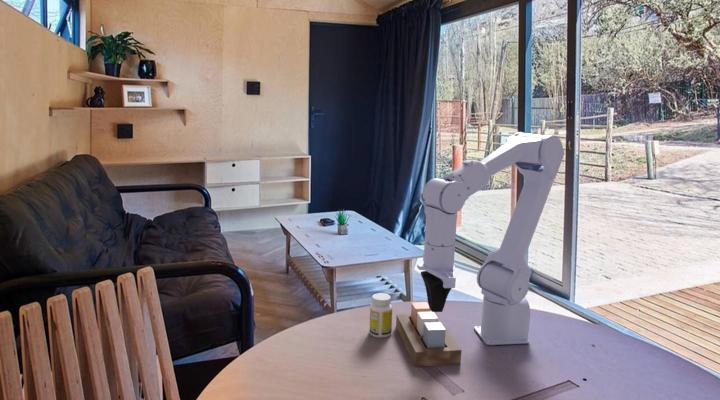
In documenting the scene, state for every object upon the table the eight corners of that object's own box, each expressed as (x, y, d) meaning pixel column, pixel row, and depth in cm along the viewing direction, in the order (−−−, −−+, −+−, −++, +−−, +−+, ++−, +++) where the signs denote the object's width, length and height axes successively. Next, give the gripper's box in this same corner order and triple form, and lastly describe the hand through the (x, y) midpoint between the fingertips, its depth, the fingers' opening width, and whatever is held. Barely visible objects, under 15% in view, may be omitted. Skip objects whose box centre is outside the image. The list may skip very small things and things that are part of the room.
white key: (432, 327, 109) (433, 311, 108) (437, 335, 106) (438, 318, 105) (416, 328, 109) (417, 312, 108) (420, 336, 105) (421, 319, 104)
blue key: (439, 338, 104) (440, 321, 103) (444, 347, 101) (445, 329, 100) (422, 339, 104) (423, 322, 103) (427, 347, 100) (428, 330, 100)
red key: (425, 317, 114) (426, 301, 113) (430, 324, 111) (431, 308, 110) (410, 318, 113) (411, 302, 113) (414, 325, 110) (415, 308, 109)
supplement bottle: (391, 329, 114) (393, 293, 113) (390, 338, 110) (392, 301, 108) (370, 327, 115) (371, 291, 113) (368, 337, 110) (369, 300, 108)
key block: (435, 325, 117) (435, 312, 116) (460, 364, 100) (461, 350, 100) (395, 327, 115) (396, 314, 115) (415, 366, 99) (415, 352, 98)
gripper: (409, 232, 104) (406, 295, 107) (430, 254, 90) (425, 327, 93) (443, 231, 106) (439, 294, 108) (468, 253, 91) (463, 325, 94)
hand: (435, 309), depth 101 cm, fingers closed
